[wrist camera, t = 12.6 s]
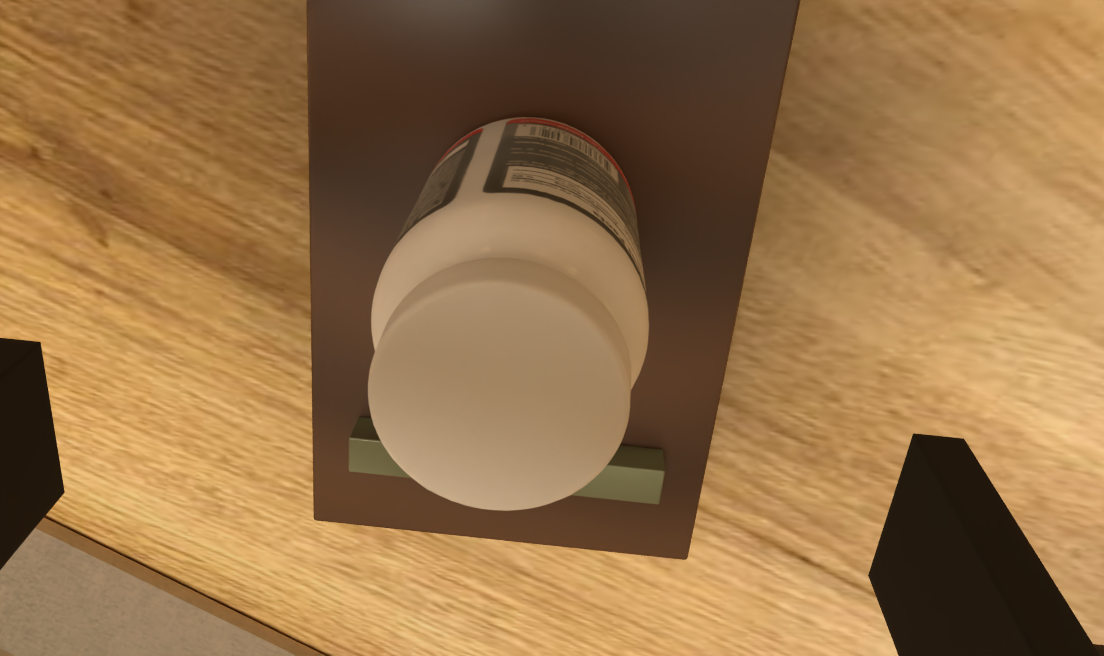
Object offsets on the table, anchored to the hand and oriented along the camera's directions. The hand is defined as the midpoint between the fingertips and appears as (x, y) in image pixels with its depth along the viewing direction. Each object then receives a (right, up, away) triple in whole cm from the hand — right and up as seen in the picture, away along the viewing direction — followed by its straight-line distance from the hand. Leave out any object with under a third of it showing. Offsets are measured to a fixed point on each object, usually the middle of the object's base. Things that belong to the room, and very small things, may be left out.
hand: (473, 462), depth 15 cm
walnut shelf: (+1, +8, +16) cm, 18 cm away
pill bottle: (+1, +5, +11) cm, 12 cm away
